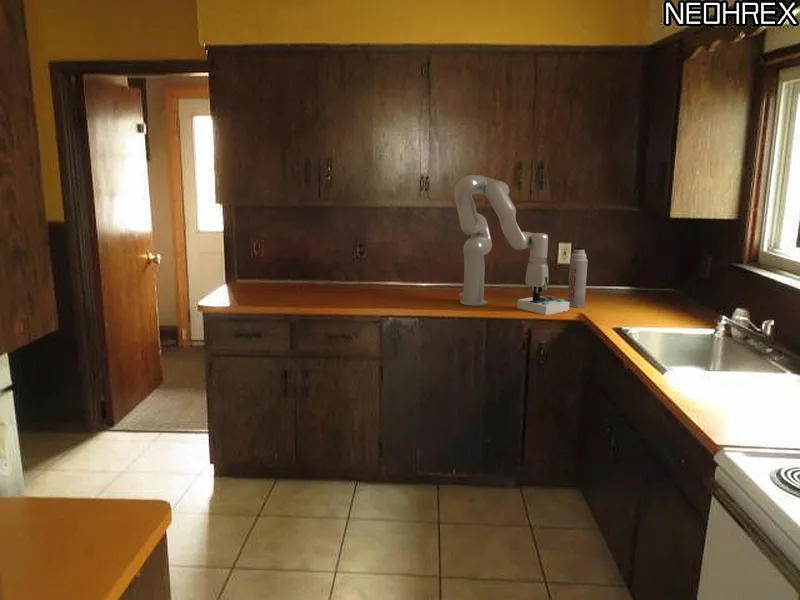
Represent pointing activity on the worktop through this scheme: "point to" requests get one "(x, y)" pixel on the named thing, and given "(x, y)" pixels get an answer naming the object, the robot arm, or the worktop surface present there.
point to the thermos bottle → (577, 278)
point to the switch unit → (543, 306)
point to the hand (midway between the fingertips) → (536, 301)
